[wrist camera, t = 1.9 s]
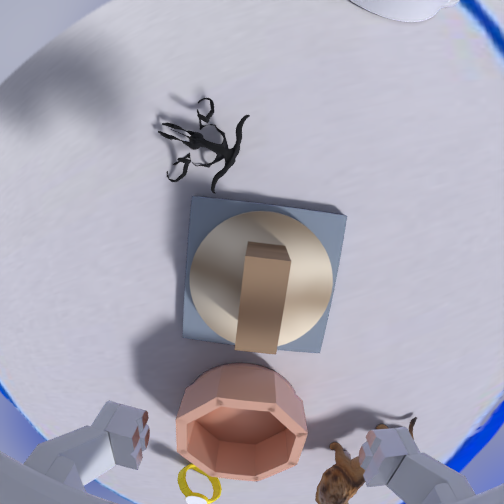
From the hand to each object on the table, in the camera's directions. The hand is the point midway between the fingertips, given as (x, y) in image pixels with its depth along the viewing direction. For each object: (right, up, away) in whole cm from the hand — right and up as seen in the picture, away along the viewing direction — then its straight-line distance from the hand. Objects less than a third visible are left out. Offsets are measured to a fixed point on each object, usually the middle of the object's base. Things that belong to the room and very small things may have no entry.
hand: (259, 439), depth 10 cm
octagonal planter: (-1, -10, +22) cm, 24 cm away
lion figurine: (+13, -18, +23) cm, 32 cm away
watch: (-7, -22, +25) cm, 34 cm away
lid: (0, +4, +17) cm, 18 cm away
